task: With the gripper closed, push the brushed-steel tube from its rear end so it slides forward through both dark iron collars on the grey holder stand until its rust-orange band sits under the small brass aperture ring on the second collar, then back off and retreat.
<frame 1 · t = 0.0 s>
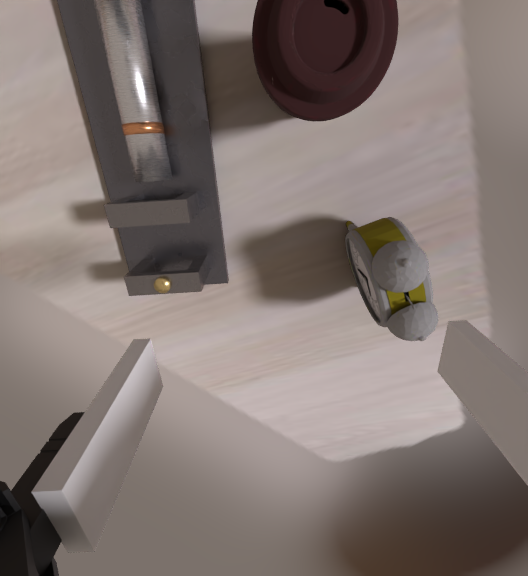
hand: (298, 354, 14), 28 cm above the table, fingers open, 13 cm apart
coffee cup: (301, 78, 33), on the table
tube: (133, 81, 30), point 3 cm above the table, slide at 0.0 cm
alarm clock: (369, 250, 41), on the table
grey holder stand: (158, 159, 36), on the table
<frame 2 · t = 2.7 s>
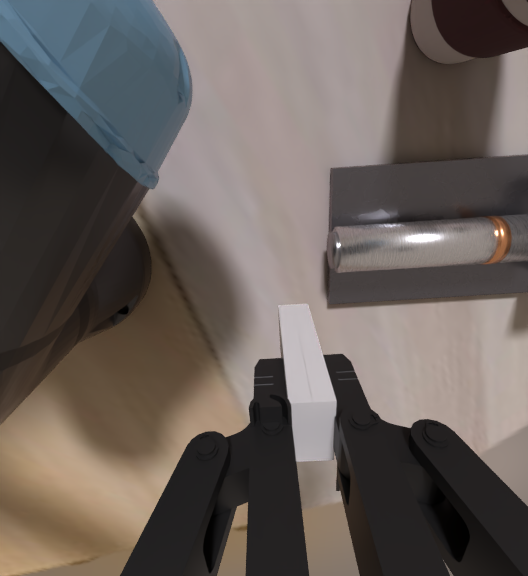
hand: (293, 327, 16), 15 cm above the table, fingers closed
coffee cup: (456, 6, 22), on the table
tube: (437, 243, 26), point 3 cm above the table, slide at 0.0 cm
grey holder stand: (496, 229, 29), on the table
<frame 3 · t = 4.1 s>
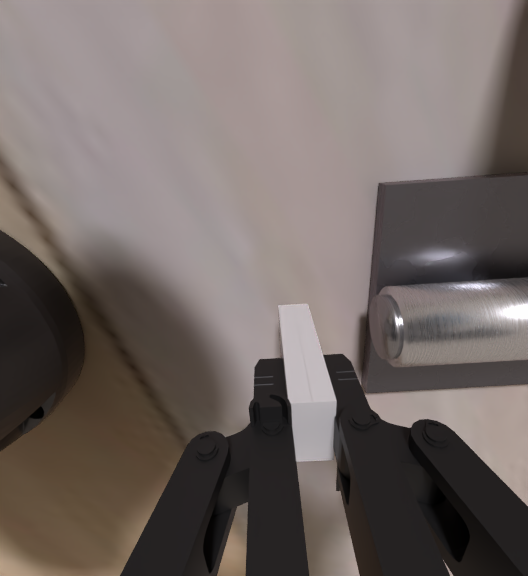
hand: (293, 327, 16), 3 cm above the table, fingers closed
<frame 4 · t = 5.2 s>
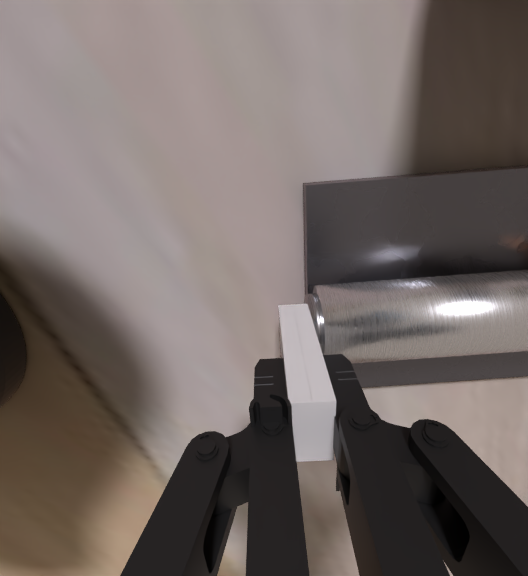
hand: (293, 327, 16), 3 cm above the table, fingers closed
tube: (493, 312, 15), point 3 cm above the table, slide at 0.2 cm, touching gripper
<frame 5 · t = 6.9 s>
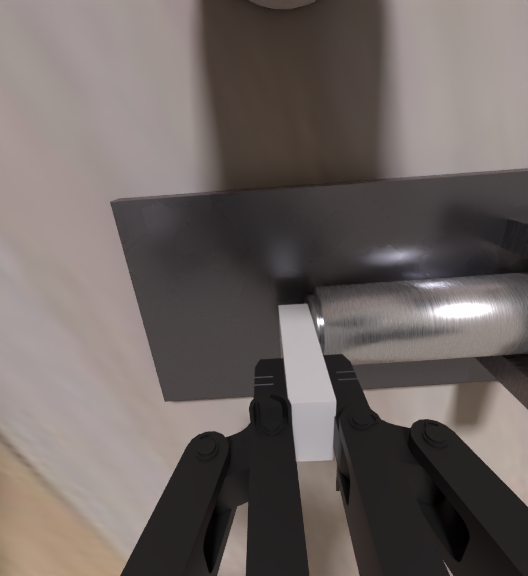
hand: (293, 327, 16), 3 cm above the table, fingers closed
tube: (492, 314, 15), point 3 cm above the table, slide at 9.8 cm, touching gripper
grey holder stand: (412, 290, 18), on the table
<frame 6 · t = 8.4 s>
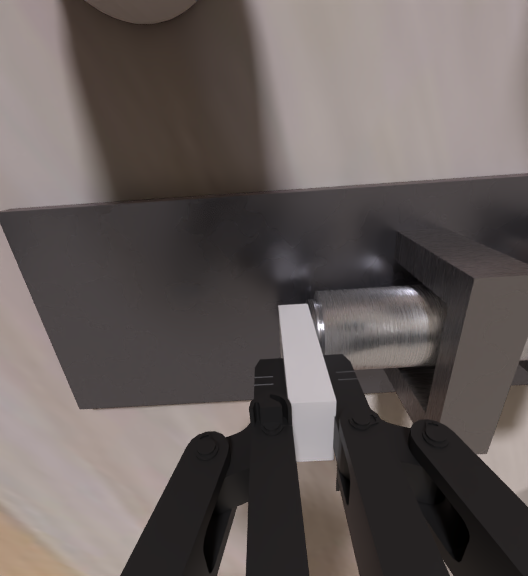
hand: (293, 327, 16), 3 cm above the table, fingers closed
tube: (495, 320, 15), point 3 cm above the table, slide at 15.5 cm, touching gripper
grey holder stand: (317, 301, 18), on the table
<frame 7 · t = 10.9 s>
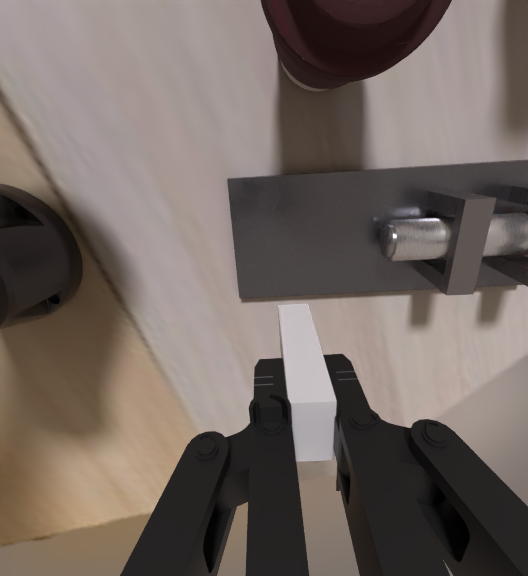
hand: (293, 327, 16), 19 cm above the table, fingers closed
coffee cup: (318, 43, 26), on the table
tube: (481, 236, 30), point 3 cm above the table, slide at 15.7 cm
grey holder stand: (382, 232, 33), on the table
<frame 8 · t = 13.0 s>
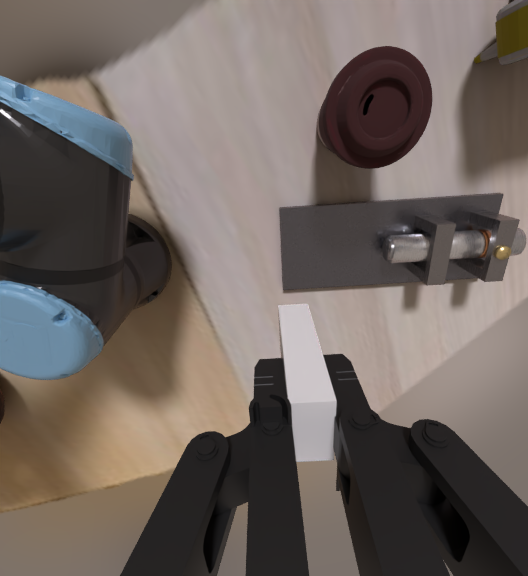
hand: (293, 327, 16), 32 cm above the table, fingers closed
coffee cup: (343, 122, 41), on the table
tube: (450, 245, 44), point 3 cm above the table, slide at 15.7 cm
alarm clock: (513, 26, 37), on the table
grey holder stand: (383, 243, 47), on the table
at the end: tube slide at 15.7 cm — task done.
